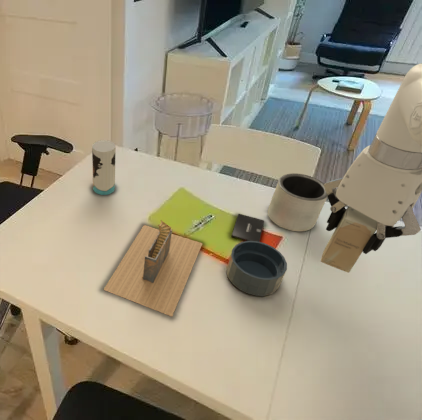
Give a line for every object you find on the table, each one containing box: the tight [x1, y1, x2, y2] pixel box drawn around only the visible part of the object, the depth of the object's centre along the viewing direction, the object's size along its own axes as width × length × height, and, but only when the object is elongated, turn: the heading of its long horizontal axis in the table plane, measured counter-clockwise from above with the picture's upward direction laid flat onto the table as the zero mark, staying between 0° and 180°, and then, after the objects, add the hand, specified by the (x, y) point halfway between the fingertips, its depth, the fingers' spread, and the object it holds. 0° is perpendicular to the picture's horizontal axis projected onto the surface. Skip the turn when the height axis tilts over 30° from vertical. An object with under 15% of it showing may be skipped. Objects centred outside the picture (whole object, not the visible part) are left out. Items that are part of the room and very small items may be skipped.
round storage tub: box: [225, 240, 288, 297], centre depth 86 cm, size 12×12×6 cm
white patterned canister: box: [91, 139, 117, 196], centre depth 111 cm, size 7×7×15 cm
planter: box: [267, 172, 328, 232], centre depth 101 cm, size 12×13×11 cm
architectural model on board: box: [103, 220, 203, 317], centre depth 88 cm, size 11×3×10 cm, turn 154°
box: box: [320, 205, 377, 274], centre depth 67 cm, size 5×4×11 cm
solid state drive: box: [231, 213, 265, 242], centre depth 101 cm, size 7×10×1 cm
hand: (349, 238), depth 67 cm, fingers closed on box, 6 cm apart
